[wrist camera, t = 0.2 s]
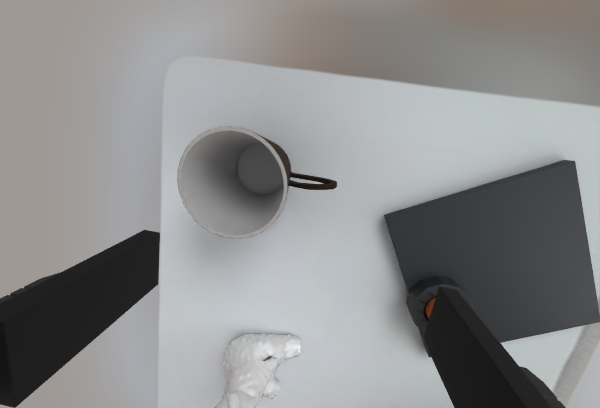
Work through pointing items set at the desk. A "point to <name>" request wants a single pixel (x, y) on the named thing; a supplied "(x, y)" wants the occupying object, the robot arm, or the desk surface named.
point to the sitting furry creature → (255, 367)
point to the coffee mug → (237, 181)
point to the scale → (503, 253)
